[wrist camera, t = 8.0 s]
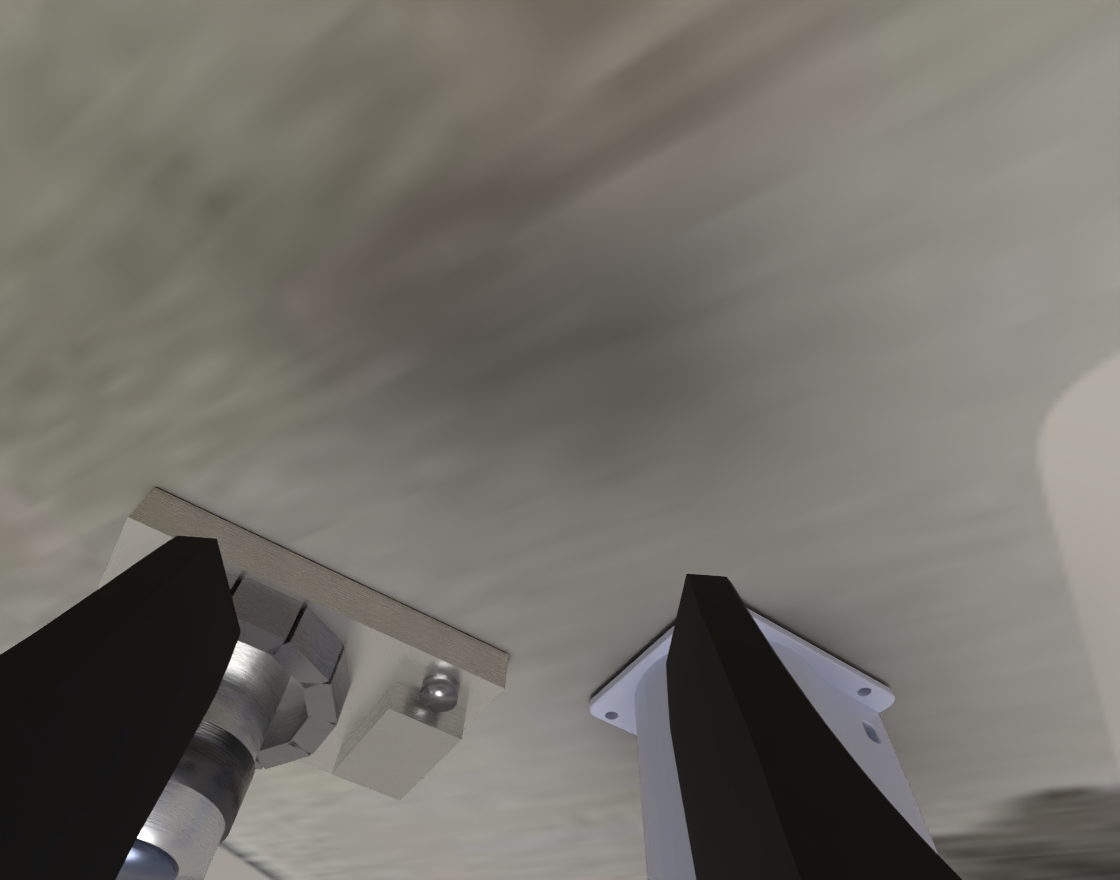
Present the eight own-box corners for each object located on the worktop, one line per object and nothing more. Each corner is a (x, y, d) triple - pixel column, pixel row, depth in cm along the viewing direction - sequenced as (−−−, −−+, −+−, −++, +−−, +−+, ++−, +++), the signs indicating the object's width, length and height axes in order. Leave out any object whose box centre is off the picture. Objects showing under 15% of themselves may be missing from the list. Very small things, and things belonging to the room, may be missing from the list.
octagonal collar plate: (508, 654, 27) (499, 726, 24) (404, 763, 31) (386, 835, 28) (155, 487, 23) (97, 550, 20) (89, 637, 27) (33, 707, 24)
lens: (304, 700, 26) (218, 915, 20) (180, 688, 26) (56, 901, 20) (291, 616, 23) (188, 833, 17) (153, 603, 23) (0, 817, 17)
